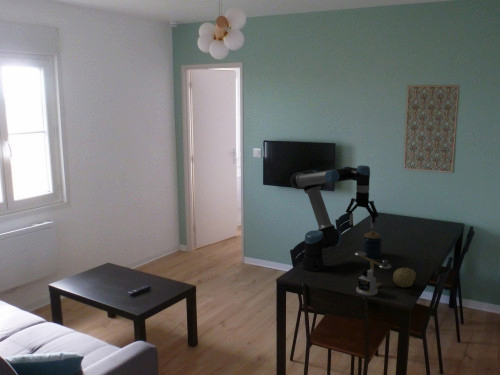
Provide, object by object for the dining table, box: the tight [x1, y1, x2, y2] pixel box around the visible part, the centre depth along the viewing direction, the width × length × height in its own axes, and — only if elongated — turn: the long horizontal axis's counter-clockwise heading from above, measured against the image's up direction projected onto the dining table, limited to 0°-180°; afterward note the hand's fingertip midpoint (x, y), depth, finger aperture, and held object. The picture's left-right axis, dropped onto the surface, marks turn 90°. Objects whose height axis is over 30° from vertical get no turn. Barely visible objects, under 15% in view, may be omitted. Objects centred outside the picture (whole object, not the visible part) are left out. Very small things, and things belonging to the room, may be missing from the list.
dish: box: [355, 286, 379, 297], centre depth 265 cm, size 12×12×1 cm
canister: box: [362, 230, 383, 259], centre depth 322 cm, size 13×13×18 cm
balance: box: [353, 250, 392, 290], centre depth 272 cm, size 22×7×18 cm, turn 51°
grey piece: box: [357, 267, 377, 293], centre depth 264 cm, size 7×7×12 cm
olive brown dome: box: [392, 267, 417, 289], centre depth 272 cm, size 11×12×11 cm
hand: (361, 226), depth 282 cm, fingers open, 13 cm apart
